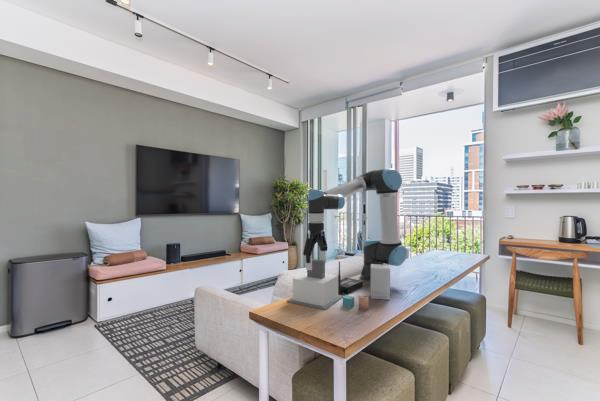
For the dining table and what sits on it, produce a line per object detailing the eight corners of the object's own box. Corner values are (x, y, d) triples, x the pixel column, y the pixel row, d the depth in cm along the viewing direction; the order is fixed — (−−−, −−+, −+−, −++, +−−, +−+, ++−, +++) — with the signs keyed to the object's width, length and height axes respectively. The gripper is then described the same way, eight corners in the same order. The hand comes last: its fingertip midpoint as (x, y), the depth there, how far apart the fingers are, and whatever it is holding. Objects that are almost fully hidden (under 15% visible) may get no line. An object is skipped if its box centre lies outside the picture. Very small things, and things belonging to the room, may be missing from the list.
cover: (309, 290, 150) (309, 255, 150) (338, 296, 142) (338, 259, 142) (292, 299, 137) (292, 261, 137) (323, 306, 128) (323, 265, 128)
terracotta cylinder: (360, 306, 130) (360, 295, 130) (369, 308, 128) (369, 297, 128) (357, 309, 127) (357, 298, 127) (366, 311, 125) (366, 299, 125)
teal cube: (346, 303, 134) (346, 295, 134) (354, 305, 132) (354, 296, 132) (342, 306, 130) (342, 297, 130) (351, 308, 128) (351, 299, 128)
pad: (307, 290, 153) (307, 289, 153) (343, 296, 143) (343, 295, 143) (286, 301, 136) (286, 300, 136) (325, 310, 126) (325, 308, 126)
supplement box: (390, 300, 138) (390, 268, 138) (370, 298, 140) (371, 267, 140) (388, 294, 147) (388, 264, 147) (370, 293, 149) (370, 263, 149)
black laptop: (343, 283, 167) (344, 253, 167) (366, 288, 158) (366, 256, 158) (323, 292, 152) (323, 259, 152) (346, 298, 143) (346, 262, 142)
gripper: (320, 220, 152) (320, 261, 152) (295, 223, 131) (295, 271, 131) (334, 220, 148) (334, 262, 148) (310, 224, 127) (310, 273, 127)
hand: (316, 266), depth 139 cm, fingers open, 13 cm apart
